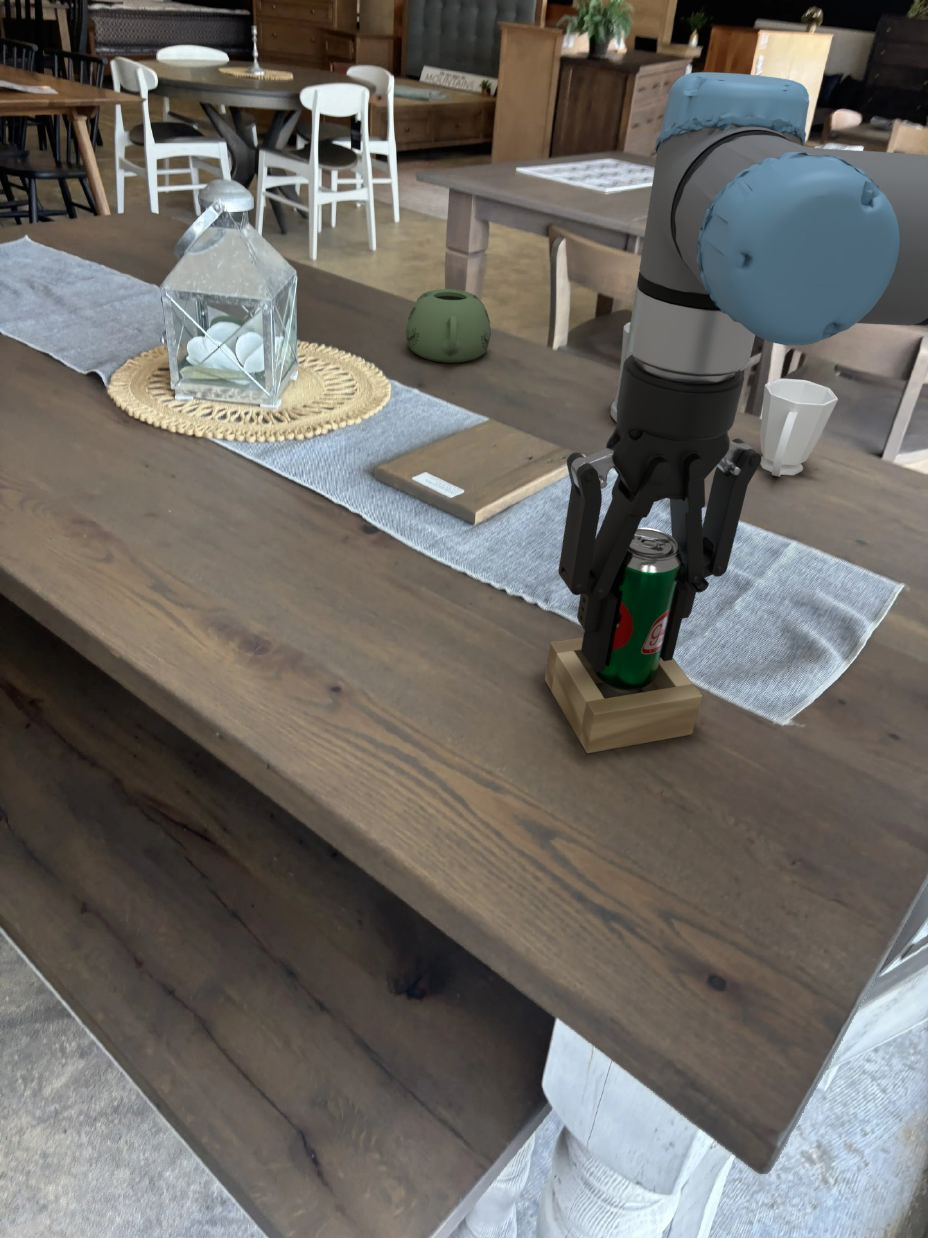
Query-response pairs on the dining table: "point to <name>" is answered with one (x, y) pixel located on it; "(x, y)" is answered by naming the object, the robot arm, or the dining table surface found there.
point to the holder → (620, 702)
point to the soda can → (641, 609)
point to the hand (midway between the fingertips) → (626, 654)
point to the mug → (448, 326)
